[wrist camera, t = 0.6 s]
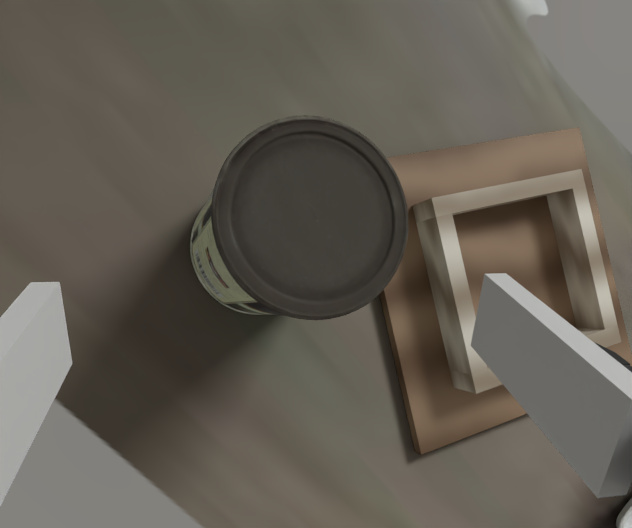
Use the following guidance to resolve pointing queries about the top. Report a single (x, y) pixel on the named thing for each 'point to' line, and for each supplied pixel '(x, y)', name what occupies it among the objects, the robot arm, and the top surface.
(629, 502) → the square plate
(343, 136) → the coffee can
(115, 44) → the top surface
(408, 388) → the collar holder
